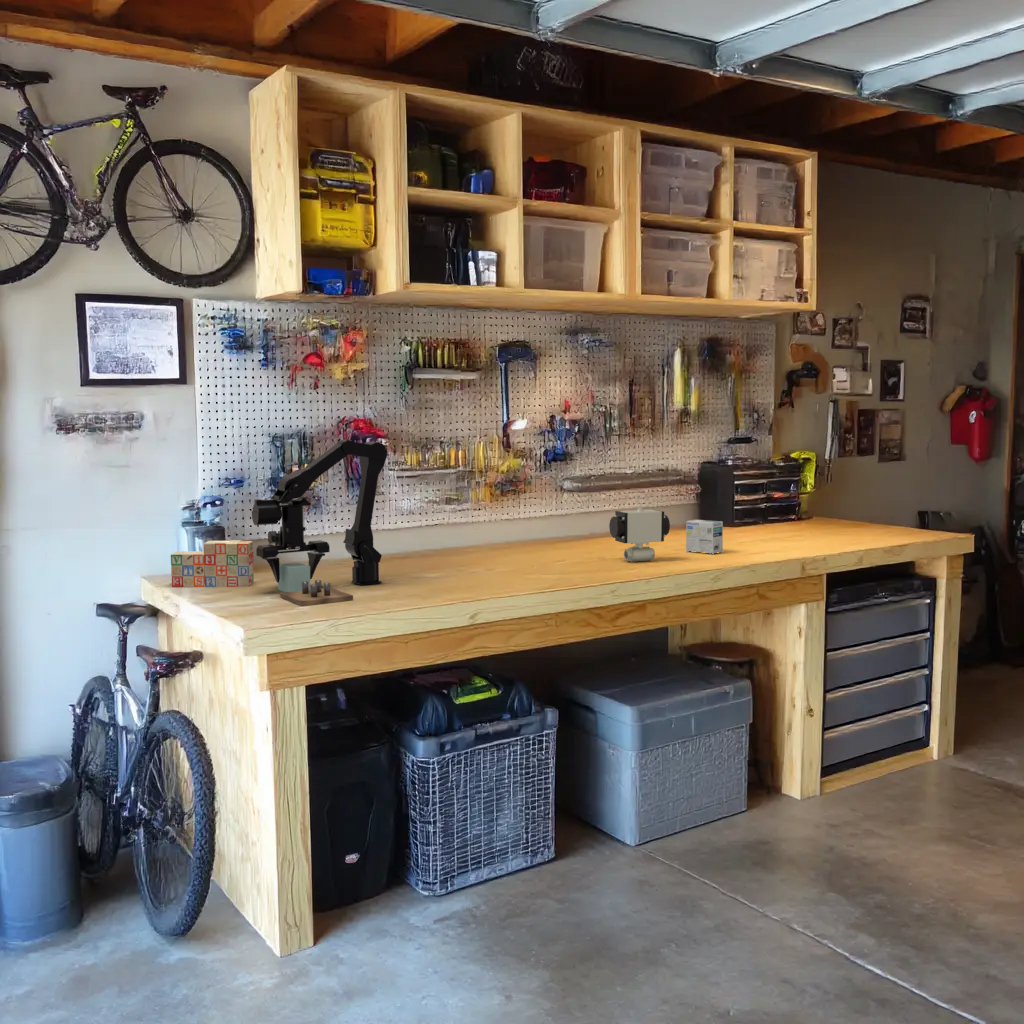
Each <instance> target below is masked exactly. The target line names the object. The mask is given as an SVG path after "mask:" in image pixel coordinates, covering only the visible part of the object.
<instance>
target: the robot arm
mask: <svg viewBox="0 0 1024 1024" xmlns="http://www.w3.org/2000/svg"><path fill="white" fill-rule="evenodd" d="M347 456H352V457H358V459H359V460H358V461H359V462H358V463H359V466H360V472H361V476H360V482H359V489H358V497H357V503H356V509H355V517H354V521H353V525H352V526H351V528H346V529H345V531H344V532H345V533H344V534H345V538H344V540H343V544H345V545H344V546H345V550H346V552H347V553H348V554H349V555H351V559H352V560H353V566H352V569H351V571H352V572H351V573H352V574H351V575H352V576H351V577H352V580H351V583H353V584H356V585H359V586H366V585H368V586H369V585H375V584H381V583H382V580H380V568H379V567H380V562H381V559H382V554H381V553H380V552H379V551H378V550H377V549H376V548H375V547H374V534H373V531H372V521H373V520H372V519H373V514H374V513H373V512H374V506H375V501H376V499H375V498H376V493H377V487H378V480H379V477H380V474H381V472H382V470H383V469H384V467H385V463H386V461H387V458H388V449H387V448H386V446H385V444H384V443H381V442H377V441H367V442H365V443H361V442H358V441H351V440H349V439H340V440H338V441H336V444H334V445H333V446H331V447H330V448H329V449H328V450H326V451H325V452H324V453H322V454H321V455H319V456H318V457H317V458H316V459H314V460H312V461H311V462H310V463H309V464H308V465H306V466H305V467H303V468H301V469H298V470H295V471H293V472H291V473H288V474H287V475H285V476H283V477H282V478H280V479H279V481H278V487H277V489H276V490H275V492H274V493H273V495H272V496H271V498H270V499H259V498H256V499H254V502H253V503H254V504H253V506H252V510H251V518H252V522H253V523H252V524H253V525H254V526H267V525H277V524H278V523H279V522H280V521H281V526H280V527H279V532H277V531H276V530H271V531H268V532H267V541H268V544H258V545H257V547H256V551H255V552H256V556H257V557H259V558H261V559H262V560H266V562H267V564H268V565H269V567H270V570H271V572H272V574H273V577H274V579H275V581H276V583H277V584H278V583H279V580H280V567H279V564H280V557H277V556H278V555H279V554H289V553H301V552H306V554H307V557H308V566H310V580H312V579H313V577H314V574H315V572H316V569H317V567H318V565H319V562H320V561H321V560H322V558H323V557H325V556H326V554H325V553H330V544H329V542H328V541H324V540H322V539H321V540H308V543H306V541H305V532H306V527H305V526H304V507H307V506H308V507H309V506H311V505H312V503H311V502H310V501H308V500H307V498H306V497H305V496H304V494H305V493H306V492H307V491H308V490H309V489H310V488H311V487H312V485H313V484H314V482H315V481H316V480H317V479H318V478H319V477H321V476H322V475H324V473H326V472H327V471H329V470H330V469H331V468H333V467H334V466H335V465H336V464H338V463H339V462H340V461H342V460H343V459H345V458H346V457H347Z"/></svg>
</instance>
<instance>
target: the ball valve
mask: <svg viewBox="0 0 1024 1024" xmlns="http://www.w3.org/2000/svg"><path fill="white" fill-rule="evenodd" d="M614 511H615V512H614V513H615V515H614V516H612V517H610V521H609V524H608V525H609V526H608V527H609V532H610V535H611V537H612V538H613V539H615V540H614V541H616V542H618V543H622V544H631V545H633V544H634V545H633V546H630V547H628V548H625V549H624V551H623V558H624V560H625V561H628V562H629V561H630V562H629V563H635V562H636V563H637V562H638V561H640V562H650V561H651V560H654V559H655V556H656V552H655V549H654V548H653V547H650V546H648V545H649V544H650V543H658V542H659V543H660V542H664V541H665V537H666V536H668V535H669V532H670V530H671V529H670V528H671V526H670V525H671V523H670V519H669V516H668V515H666V514H665V511H662V510H657V509H643V506H642V505H637V509H634V510H633V509H629V510H614ZM644 544H645V545H646V546H644ZM638 563H639V562H638Z"/></svg>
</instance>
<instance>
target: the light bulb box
mask: <svg viewBox="0 0 1024 1024" xmlns="http://www.w3.org/2000/svg"><path fill="white" fill-rule="evenodd" d="M723 524H724V522H723V521H722V520H720V521H719V520H718V521H717V520H707V519H705V520H704V519H691V520H686V525H685V529H686V531H685V533H686V534H685V535H686V536H685V537H686V539H685V542H686V543H685V552H686V551H696V552H705V553H717V552H722V551H723V552H724V550H723V549H724V548H723V547H724V545H723V544H724V543H723V542H724V540H723V539H724V538H723V537H724V534H723V533H724V531H723V530H724V528H723V527H724V525H723ZM723 552H722V553H723Z"/></svg>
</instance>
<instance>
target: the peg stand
mask: <svg viewBox="0 0 1024 1024" xmlns="http://www.w3.org/2000/svg"><path fill="white" fill-rule="evenodd" d="M279 594H280V595H279V597H280V599H282V600H285V601H287V602H290V603H292V604H294V605H297V606H300V607H306V606H315V605H323V604H333V603H340V602H349V601H354V595H353V594H350V593H348V592H344V591H342V590H339V589H336V588H334V587H331V583H330V582H324V583H323V587H322V580H321V579H315V580H314V583H313V584H310V590H309V587H308V581H304V582H302V591H295V592H280V593H279Z"/></svg>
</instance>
